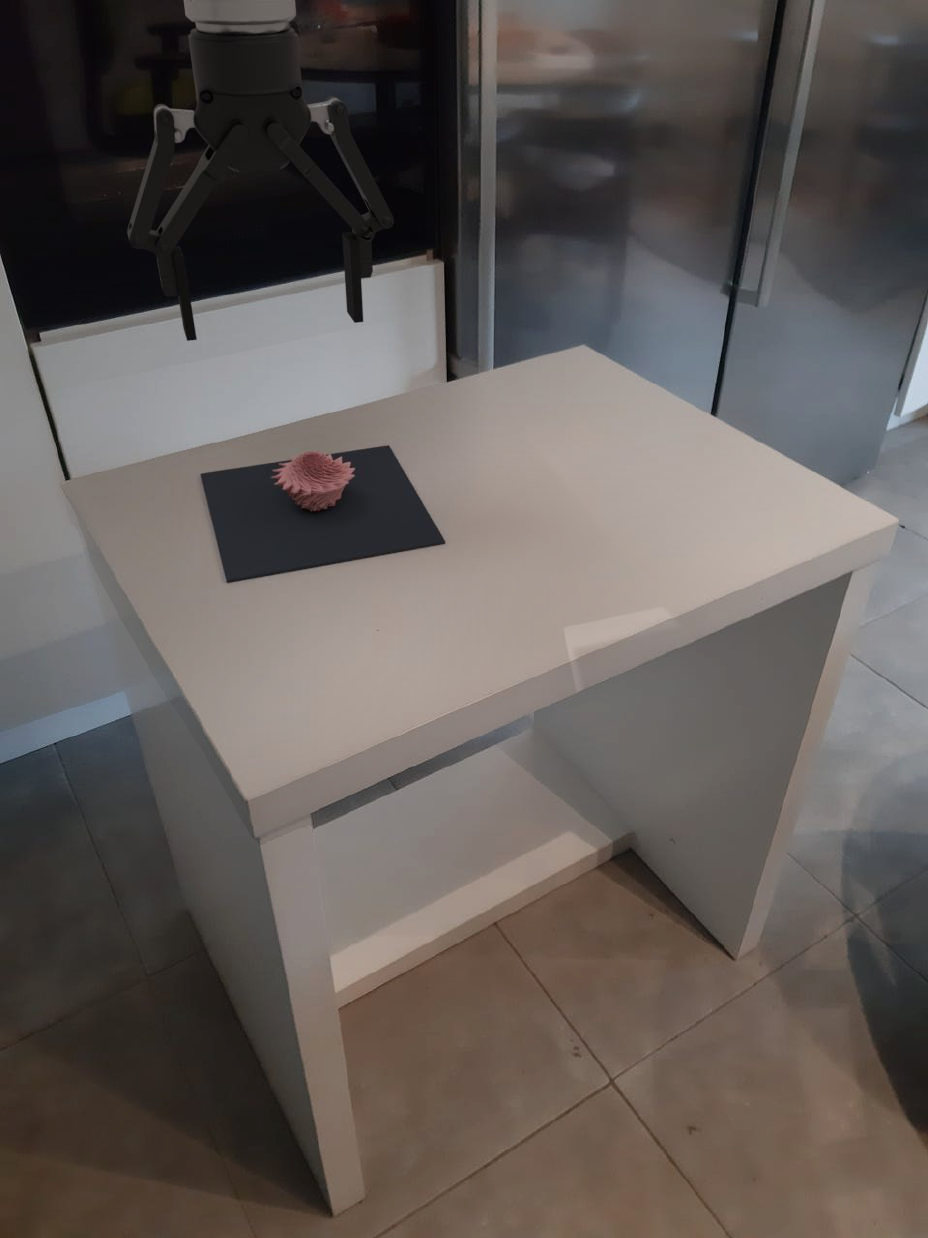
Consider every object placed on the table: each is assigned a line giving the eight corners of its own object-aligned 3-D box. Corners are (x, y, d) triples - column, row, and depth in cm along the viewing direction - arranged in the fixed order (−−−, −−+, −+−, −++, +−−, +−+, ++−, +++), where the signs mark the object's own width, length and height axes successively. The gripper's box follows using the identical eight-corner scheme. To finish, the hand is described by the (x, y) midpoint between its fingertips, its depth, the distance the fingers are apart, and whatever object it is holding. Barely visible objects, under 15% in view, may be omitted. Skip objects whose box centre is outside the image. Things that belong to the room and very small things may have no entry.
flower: (271, 528, 92) (263, 475, 89) (279, 485, 98) (273, 435, 95) (355, 526, 92) (351, 474, 89) (358, 484, 99) (355, 433, 95)
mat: (226, 582, 86) (226, 580, 85) (200, 475, 101) (200, 473, 100) (445, 543, 91) (445, 540, 90) (389, 447, 106) (389, 444, 105)
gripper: (401, 15, 74) (407, 295, 87) (51, 23, 67) (114, 325, 80) (430, 26, 68) (432, 325, 81) (52, 36, 62) (119, 359, 74)
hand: (274, 325), depth 81 cm, fingers open, 13 cm apart
